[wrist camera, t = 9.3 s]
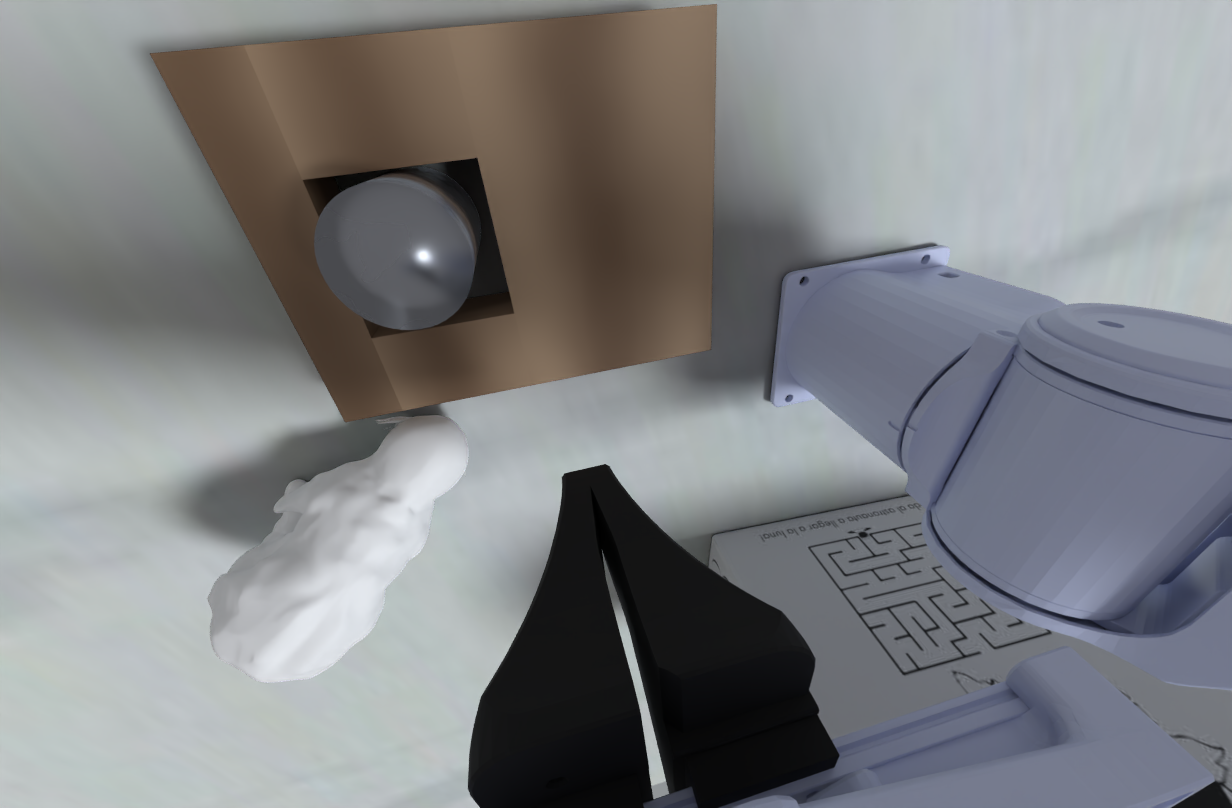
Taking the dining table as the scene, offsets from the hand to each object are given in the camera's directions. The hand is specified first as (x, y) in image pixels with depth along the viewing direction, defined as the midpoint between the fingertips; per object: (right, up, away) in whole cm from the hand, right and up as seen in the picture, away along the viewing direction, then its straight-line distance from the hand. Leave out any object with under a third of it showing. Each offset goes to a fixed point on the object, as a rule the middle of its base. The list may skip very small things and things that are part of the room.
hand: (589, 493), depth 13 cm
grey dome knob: (-7, +10, +5) cm, 13 cm away
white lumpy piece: (-12, -1, +10) cm, 15 cm away
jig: (-4, +10, +5) cm, 12 cm away
